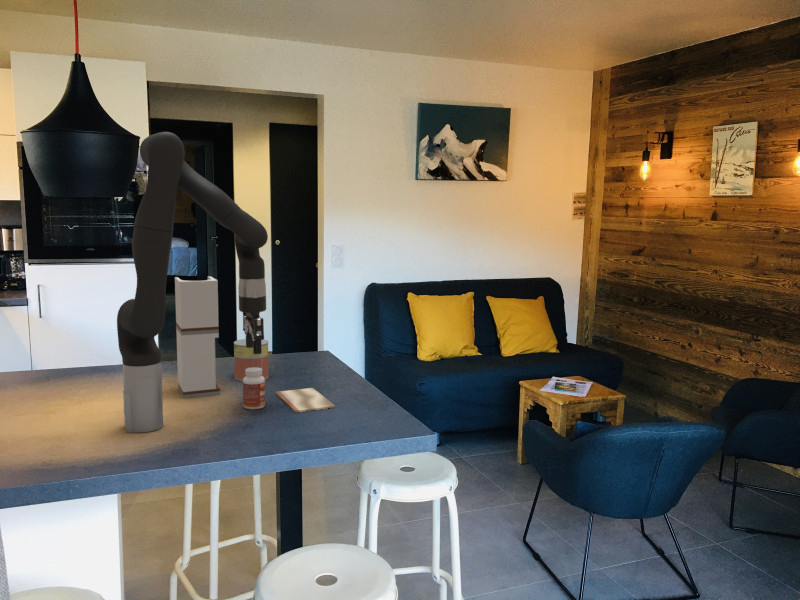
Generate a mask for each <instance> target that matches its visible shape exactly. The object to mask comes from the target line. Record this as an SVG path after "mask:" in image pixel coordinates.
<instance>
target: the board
mask: <svg viewBox="0 0 800 600" xmlns="http://www.w3.org/2000/svg"><path fill="white" fill-rule="evenodd" d="M274 393H275V395H276V396H277V397H278V398H279V399H280V400H281V401H282V402H283V403H284V404H285V405H286V406H287V407H288V408H289V409H290V410H291V411H293V413H295V414H297V413H298V412H299V413H305V412H306V411H307V412H312V411H313V410H315V411H322V410H329V409H328V408H330V409H336V405H335V404H334V403H332V402H331V401H330V400H329V399H328V398H326V397H325V396H324V395H322V394H321V393H320V392H319V391H317V390H316V389H315V388H314V387H308V388H299V389H289V390H281V391H279V390H277V391H275V392H274ZM321 409H322V410H321ZM313 412H314V411H313Z"/></svg>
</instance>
